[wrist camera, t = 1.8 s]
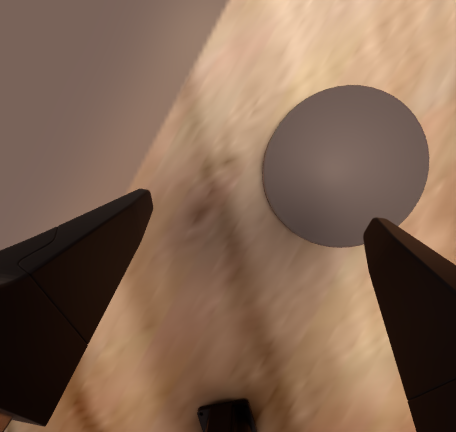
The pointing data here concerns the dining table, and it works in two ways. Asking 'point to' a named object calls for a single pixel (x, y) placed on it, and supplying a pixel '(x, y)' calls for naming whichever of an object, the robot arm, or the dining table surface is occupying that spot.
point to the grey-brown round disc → (345, 164)
